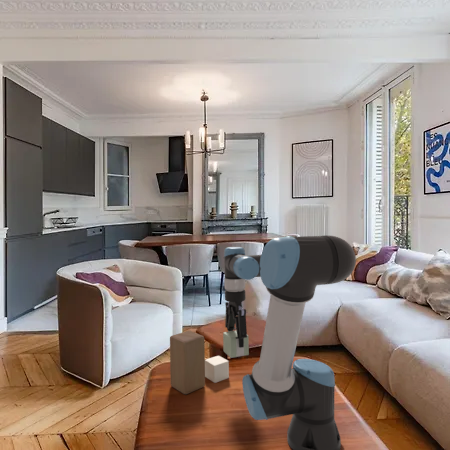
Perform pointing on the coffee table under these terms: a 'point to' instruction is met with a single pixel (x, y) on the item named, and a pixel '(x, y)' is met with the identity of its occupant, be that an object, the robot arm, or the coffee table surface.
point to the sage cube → (233, 344)
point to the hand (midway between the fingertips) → (235, 351)
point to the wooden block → (187, 361)
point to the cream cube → (216, 369)
